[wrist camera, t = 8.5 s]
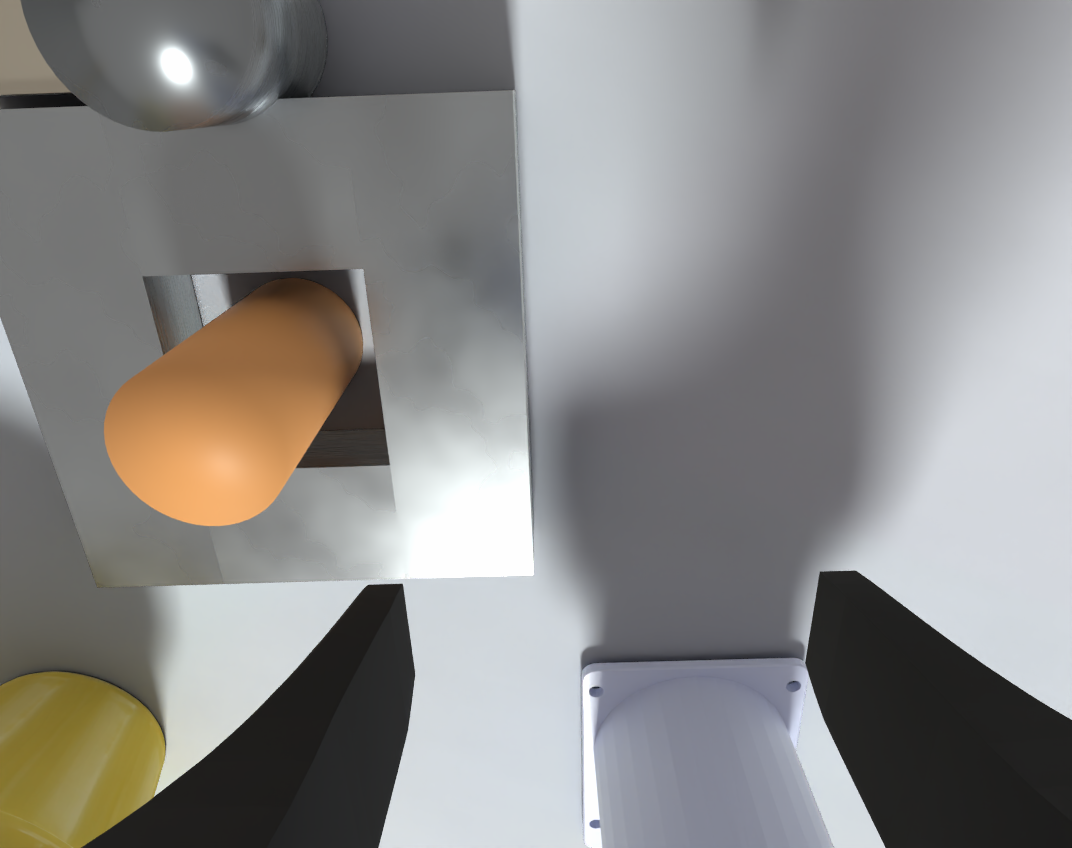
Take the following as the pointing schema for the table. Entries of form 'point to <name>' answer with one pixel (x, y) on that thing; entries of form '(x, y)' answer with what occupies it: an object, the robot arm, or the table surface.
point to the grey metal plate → (265, 246)
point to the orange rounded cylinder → (234, 404)
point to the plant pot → (72, 759)
